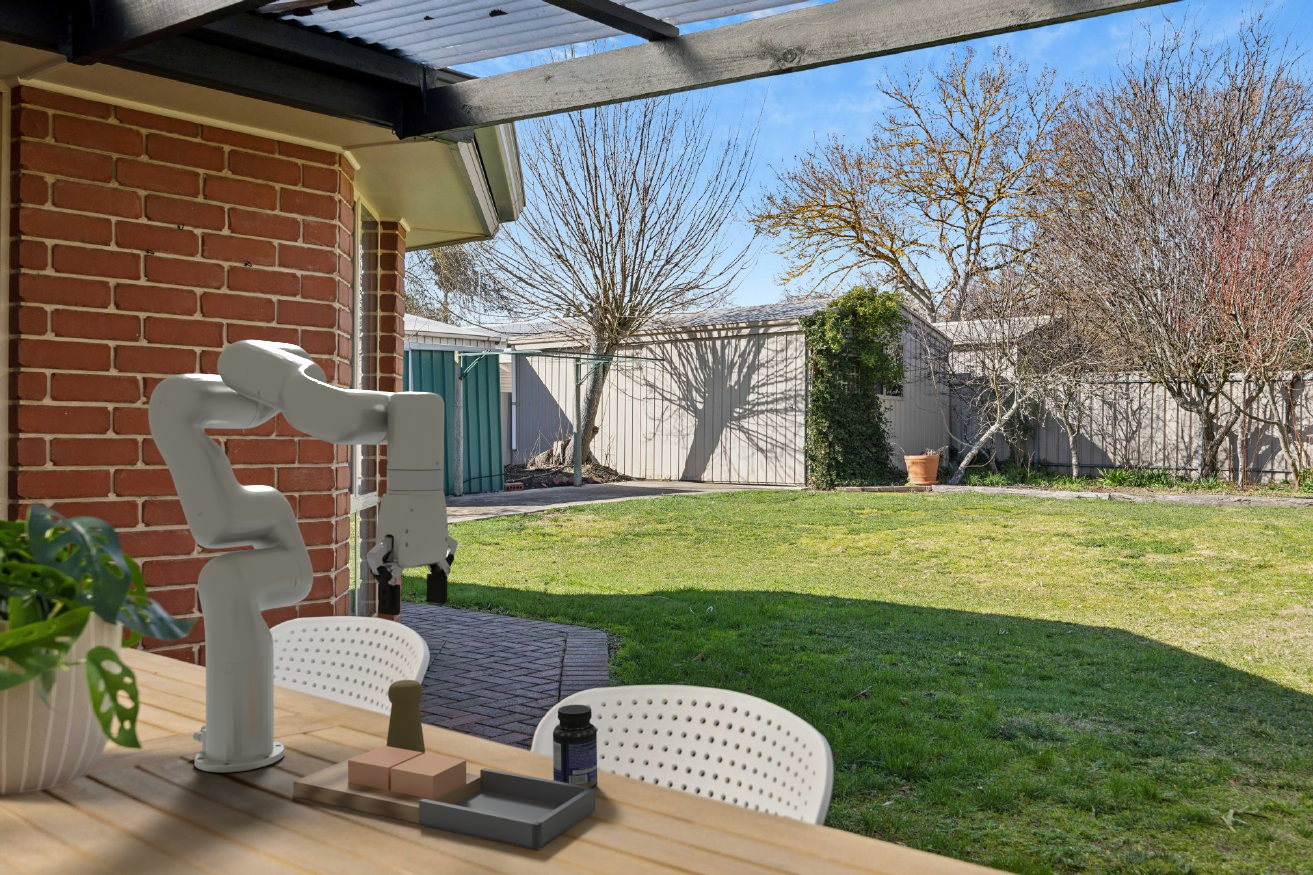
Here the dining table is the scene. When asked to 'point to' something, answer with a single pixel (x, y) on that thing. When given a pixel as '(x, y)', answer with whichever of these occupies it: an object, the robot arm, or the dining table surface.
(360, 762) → the tile rear
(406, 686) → the cork
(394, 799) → the board
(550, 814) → the tray
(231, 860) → the dining table surface
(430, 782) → the tile front
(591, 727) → the pill bottle
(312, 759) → the dining table surface
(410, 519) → the robot arm
